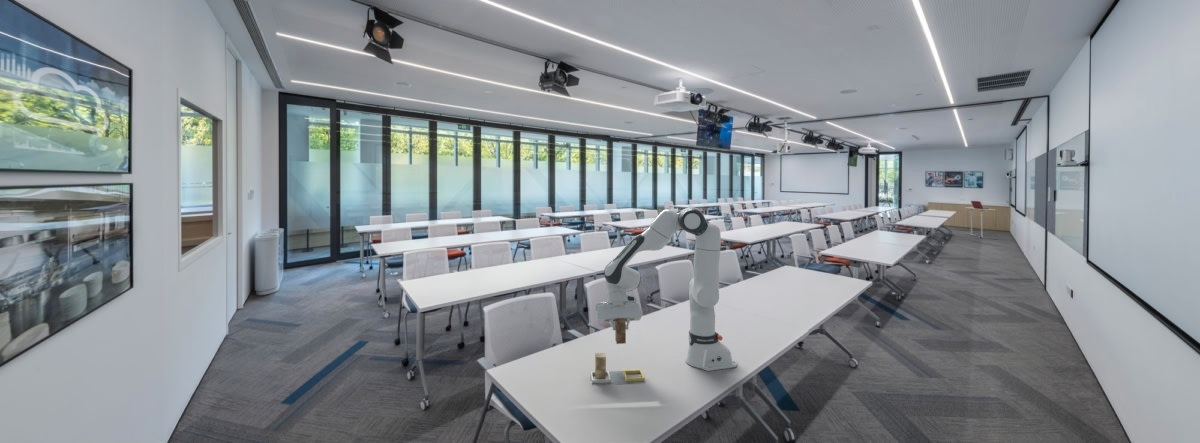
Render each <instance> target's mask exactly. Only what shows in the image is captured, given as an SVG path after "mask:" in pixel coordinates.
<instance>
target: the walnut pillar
mask: <svg viewBox="0 0 1200 443" xmlns="http://www.w3.org/2000/svg"><path fill="white" fill-rule="evenodd" d="M614 325H616V330H614V331H615V343H616V345H621V344H623V345H624V344H626V342H627V340H626V339H627V336H626V335H627V334H626V333H627V332H626V331H627V330H626V325H627V323H626V321H625V319H615V324H614Z"/></svg>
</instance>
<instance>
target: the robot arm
mask: <svg viewBox="0 0 1200 443" xmlns="http://www.w3.org/2000/svg"><path fill="white" fill-rule="evenodd" d="M679 230H683V231H685V232H687V233H688V234H692V235H694V236H695V246H694V254H693V263H692V265H693V277H692V278H691V279H690V281H689V283H688V284H689V285H688V289H689V290H688V292H689V293H688V294H689V296H688V298H689V299H688V300H689V312H690V313H689V315H690V317H689V318H690V319H689V331H688V349H687V350H688V351H687V354H686V357H685V363H686V364H687V365H690V366H691V367H694V368H697V369H702V370H704V371H707V372H711V371H718V370H724V369H730V368H731V369H732V368H736V367H737V361H736V359H735V358H734V357H733V356H732V354H731V351H730V348H728V346H726V345H725V344H724V343H722V342H721V341H722V340H723V336H722V335H721V334H719V333H718V332H717V331H716V312H715V311H716V310H715V306H716V305H717V304H718V302H719V300H720V291H719V290H720V275H719V274H720V273H719V272H720V270H719V268H720V256H721V247H722V246H721V245H722V244H721V243H722V242H721V240H722V239H721V230H720V227H718V226H717V224H714V223H708V222H707V220H706V217H705V216H704V213H703V212H702V211H701V209H700V208H698V207H695V206H688V207H686V208H685V207H684V208H682V209H680V210H678V211H677V212H675V211H674V210H671V209H663V210H661V212H660V213H658V215H657V216H656V217H655V218H654V219H653V220H652V222H651V223H650V224H649V226H648V228H646V230H644V231H643V232H642V233H640V234H637V235H635V236H634V237H633V238H632V239H631V240H630V241H629V242H628V243H627V244H626V245H625V246H624V248H623V249H622V250H621V251H620V252H619V253H618V254H617V256H616V257H615V258H613V260H611V261H610V262H609V263H607V265H606V266H605V267H604V269H603V270H604V271H603V276H604V279H605V282H606V283H605V284H606V285H605V286H606V291H607V301H602V302H601V301H600V302H599V301H598V302H597V303H596V304H595V311H596V321H597V322H598V323H609V325H610V326H611V328H612V331H615V330H616V325H615V324H614V322H615V319H625V321H626V331H628V330H629V325H630V322H631V321H632V322H633V321H634V322H636V321H637V322H638V321H640V320H641V319H642V316H643V315H642V314H643V313H642V310H641V309H642V308H641V307H640V304H639V303H638V302H637V301H638V300H637V299H638V298H637V297H636V296H633V295H629V294H627V293H629V292H632V291H634V290H636V289H637V288H638V287H639V286H640V285H641V282H642V277H641V273H640V272H639V271H638V270H636V269H634V268H632V267H630V266H627V265H628V263H629V262H630V261H631V260H632V258H634V257H635V256H636V254H638V253H640V252H645V251H646V252H647V251H653V252H654V251H656V252H657V251H660V250H662V249H664V248H665V246H666V245H668V243H669V242H670V240H671V239H672V237H673V236H674V234H675V233H676V232H677V231H679Z"/></svg>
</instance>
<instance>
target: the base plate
mask: <svg viewBox="0 0 1200 443" xmlns="http://www.w3.org/2000/svg"><path fill="white" fill-rule="evenodd" d="M589 375H590V376H589V377H590V382H591V386H592V387H593V386H594V387H596V386H619V385H638V384H646V383H647V382H646V379H645V375H644V373H643V371H642V369H627V370H626V369H624V370H613V371H609V370H606V379H596V377H595V371H590V372H589Z"/></svg>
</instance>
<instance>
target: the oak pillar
mask: <svg viewBox="0 0 1200 443" xmlns="http://www.w3.org/2000/svg"><path fill="white" fill-rule="evenodd" d="M594 354H595V355H594V356H595V357H594V358H595V359H594V360H595V361H594V363H595V364H594V366H595V367H594V372H595V377H596V379H606V371H607V356H606V353H605V352H600V353H599V352H597V353H596V352H595V353H594Z"/></svg>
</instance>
